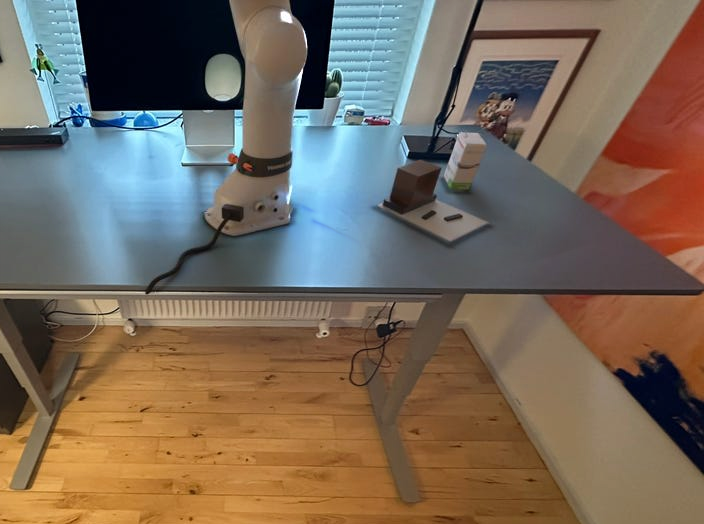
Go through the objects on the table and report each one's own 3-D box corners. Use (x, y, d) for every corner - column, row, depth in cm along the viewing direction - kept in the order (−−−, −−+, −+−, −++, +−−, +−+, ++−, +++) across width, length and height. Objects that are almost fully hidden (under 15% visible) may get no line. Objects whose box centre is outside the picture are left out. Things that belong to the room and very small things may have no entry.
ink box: (468, 193, 105) (488, 144, 97) (448, 192, 106) (466, 144, 98) (461, 179, 111) (479, 131, 103) (441, 178, 112) (458, 131, 103)
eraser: (401, 215, 97) (412, 179, 91) (382, 205, 101) (391, 170, 94) (435, 200, 101) (447, 165, 95) (415, 192, 105) (426, 157, 99)
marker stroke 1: (425, 220, 95) (426, 218, 95) (421, 218, 96) (421, 216, 95) (435, 213, 97) (436, 211, 97) (431, 212, 98) (431, 210, 97)
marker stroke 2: (447, 221, 94) (447, 219, 94) (443, 219, 95) (444, 217, 95) (462, 217, 95) (463, 215, 95) (458, 215, 96) (459, 213, 96)
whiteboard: (448, 245, 89) (450, 241, 89) (375, 208, 102) (376, 205, 101) (487, 226, 94) (489, 222, 93) (413, 193, 107) (414, 189, 106)
